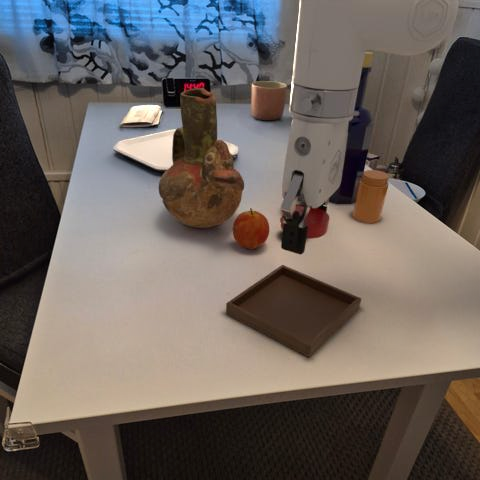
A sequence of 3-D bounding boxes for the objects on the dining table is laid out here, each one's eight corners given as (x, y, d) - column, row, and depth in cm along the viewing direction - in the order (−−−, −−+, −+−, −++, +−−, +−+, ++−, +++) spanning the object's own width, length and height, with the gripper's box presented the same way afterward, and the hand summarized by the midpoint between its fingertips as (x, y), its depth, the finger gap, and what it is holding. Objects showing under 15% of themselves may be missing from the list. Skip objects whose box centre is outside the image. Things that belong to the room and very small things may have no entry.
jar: (384, 216, 99) (395, 174, 93) (372, 225, 95) (383, 182, 89) (360, 208, 102) (369, 167, 96) (347, 217, 98) (356, 174, 92)
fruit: (253, 234, 90) (255, 196, 85) (275, 248, 86) (278, 210, 81) (225, 243, 87) (225, 205, 82) (246, 258, 82) (248, 219, 78)
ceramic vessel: (192, 262, 81) (187, 115, 65) (143, 207, 98) (130, 81, 83) (271, 242, 88) (284, 105, 72) (212, 194, 105) (212, 76, 90)
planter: (267, 124, 155) (269, 89, 148) (243, 116, 162) (244, 83, 155) (291, 118, 162) (294, 85, 155) (267, 111, 169) (269, 79, 162)
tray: (359, 308, 71) (361, 298, 70) (309, 357, 62) (311, 346, 61) (281, 274, 79) (282, 264, 77) (225, 314, 69) (226, 303, 68)
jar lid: (302, 213, 65) (303, 201, 64) (337, 229, 61) (339, 216, 60) (270, 225, 61) (272, 213, 60) (306, 243, 58) (308, 230, 57)
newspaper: (158, 128, 146) (156, 120, 145) (121, 131, 147) (119, 123, 145) (166, 110, 164) (164, 103, 162) (133, 113, 164) (131, 105, 163)
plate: (184, 133, 143) (184, 126, 141) (248, 157, 127) (249, 149, 126) (104, 152, 126) (103, 144, 125) (167, 181, 111) (167, 173, 109)
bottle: (360, 192, 110) (390, 51, 91) (356, 206, 103) (388, 57, 84) (323, 186, 112) (345, 47, 93) (317, 200, 105) (339, 53, 86)
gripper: (327, 123, 44) (303, 276, 55) (374, 93, 56) (347, 223, 67) (259, 111, 47) (250, 259, 58) (318, 85, 59) (301, 212, 70)
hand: (302, 239), depth 62 cm, fingers closed on jar lid, 6 cm apart
